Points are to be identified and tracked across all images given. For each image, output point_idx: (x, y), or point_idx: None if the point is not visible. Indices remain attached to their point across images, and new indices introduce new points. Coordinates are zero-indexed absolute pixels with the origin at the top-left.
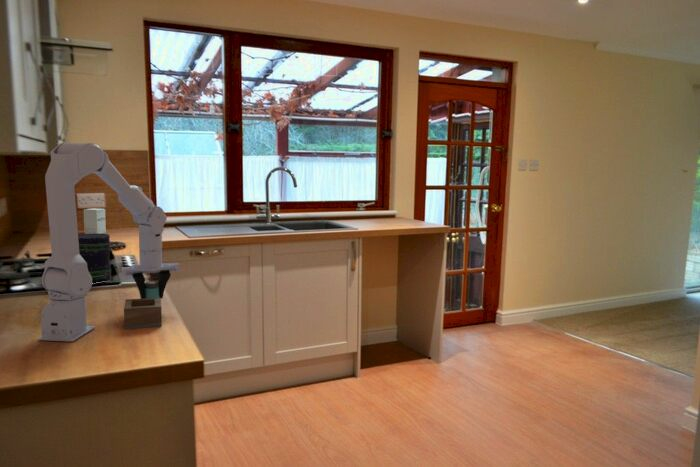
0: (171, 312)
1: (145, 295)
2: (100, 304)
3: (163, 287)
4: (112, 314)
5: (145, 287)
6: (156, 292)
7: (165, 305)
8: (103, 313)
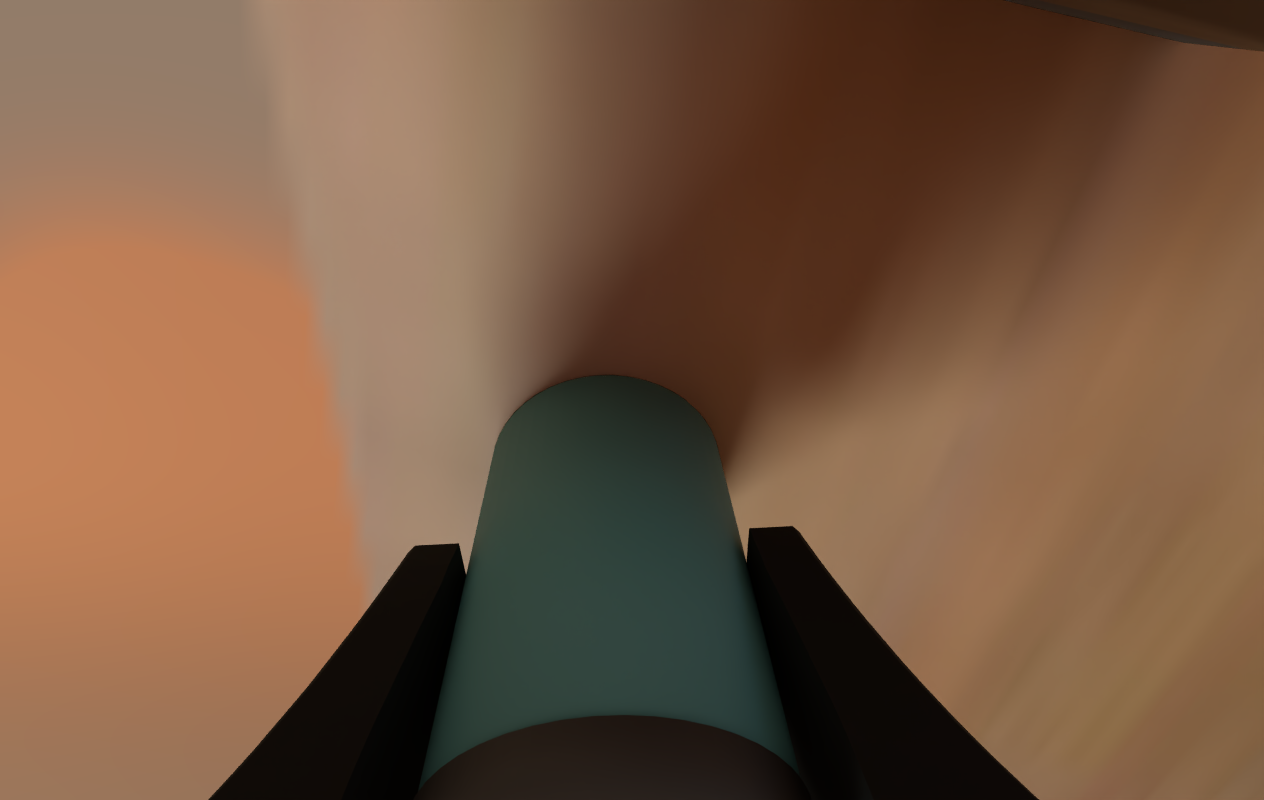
0: (297, 100)
1: (754, 611)
2: (1078, 751)
3: (297, 751)
4: (1199, 383)
5: (800, 796)
6: (518, 621)
7: (400, 525)
8: (1256, 468)
